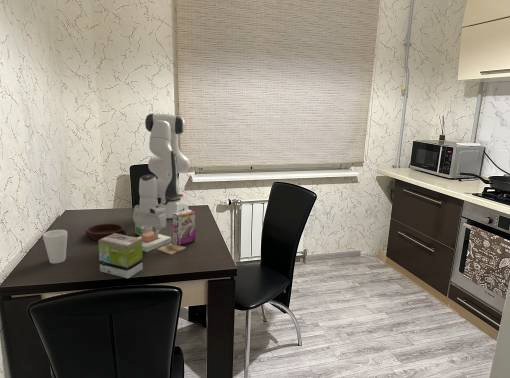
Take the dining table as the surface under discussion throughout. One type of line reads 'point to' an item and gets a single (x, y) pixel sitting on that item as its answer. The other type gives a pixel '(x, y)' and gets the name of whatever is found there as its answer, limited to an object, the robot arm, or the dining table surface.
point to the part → (149, 237)
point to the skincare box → (138, 229)
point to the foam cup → (56, 245)
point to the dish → (104, 231)
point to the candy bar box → (184, 227)
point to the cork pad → (171, 248)
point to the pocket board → (156, 243)
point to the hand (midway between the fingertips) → (149, 233)
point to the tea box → (120, 255)
